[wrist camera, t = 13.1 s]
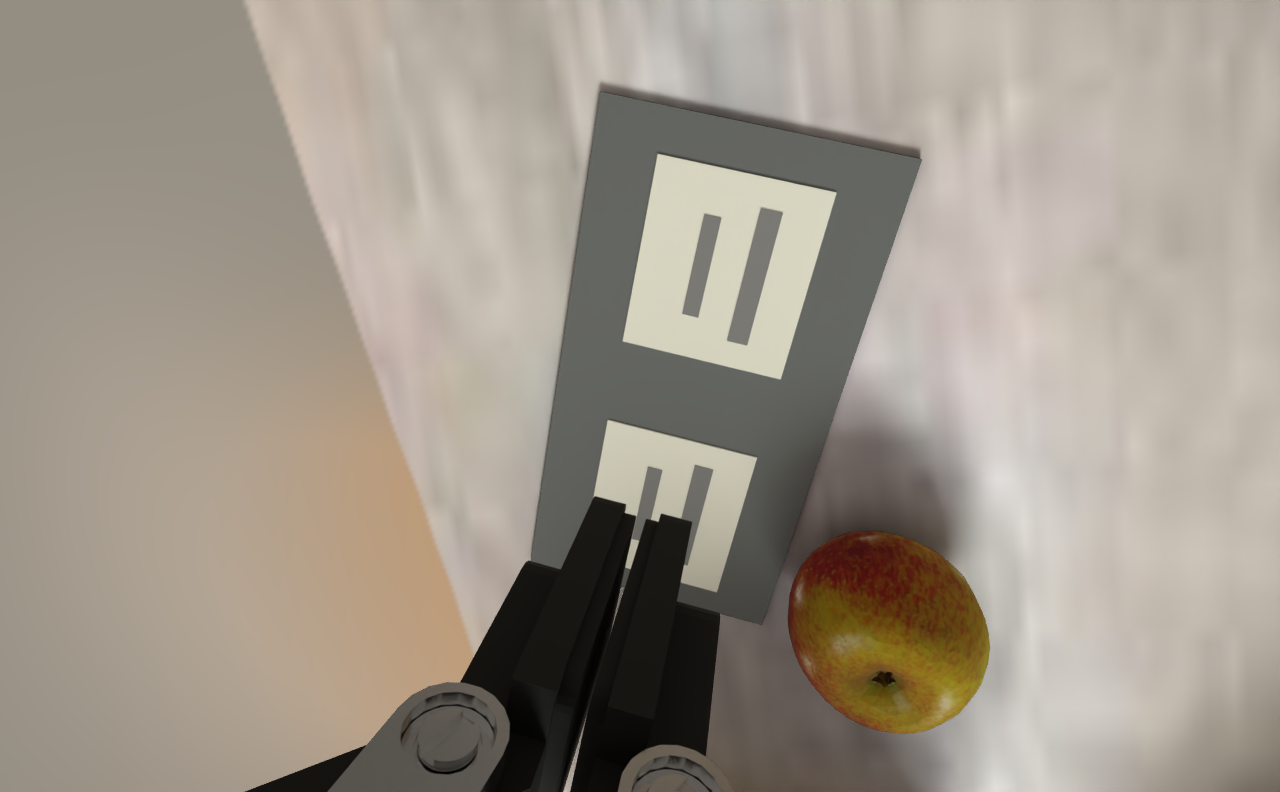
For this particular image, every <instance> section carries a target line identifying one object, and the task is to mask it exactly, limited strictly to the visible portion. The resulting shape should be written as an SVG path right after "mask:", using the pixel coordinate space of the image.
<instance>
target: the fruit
mask: <svg viewBox="0 0 1280 792" xmlns="http://www.w3.org/2000/svg"><path fill="white" fill-rule="evenodd" d="M788 626H789V633H790V638H791V642H792V645H793V649H794V652H795V655H796V657H797V660H798V662H799V664H800V666H801V668H802V670H803V672H804V673H805V675H806V676H807V678H808V679H809V681H810V682H811V684H812V685H813V686H814V687H815V689H816V690H817V691H818V692H819V693H820V694H821V695H822V697H823V698H824V699H825V700H826V701H827V702H828V703H829V704H831V705H832V706H833V707H834V708H835V709H836V710H838V711H839V712H840V713H842V714H843V715H845V716H846V717H848V718H849V719H851V720H853V721H855V722H857V723H859V724H861V725H863V726H866V727H869V728H872V729H875V730H879V731H885V732H891V733H916V732H921V731H926V730H929V729H931V728H933V727H936V726H938V725H940V724H942V723H944V722H946V721H947V720H949V719H951V718H952V717H954V716H956V715H957V714H959V713H960V711H961V710H962V709H963V708H964V707H965V706H966V705H967V704H968V702H969V701H970V700H971V698H972V697H973V696H974V695H975V693H976V692H977V690H978V688H979V687H980V685H981V683H982V680H983V677H984V674H985V671H986V668H987V665H988V660H989V650H990V643H989V634H988V629H987V625H986V620H985V618H984V615H983V613H982V610H981V608H980V606H979V604H978V602H977V600H976V598H975V596H974V594H973V592H972V590H971V588H970V586H969V584H968V583H967V581H966V579H965V578H964V576H963V575H962V574H961V573H960V572H959V571H958V570H957V569H956V568H955V567H954V566H953V565H952V564H950V563H949V562H948V561H947V560H946V559H945V558H943V557H942V556H941V555H939V554H938V553H936V552H935V551H933V550H932V549H930V548H928V547H926V546H924V545H922V544H920V543H918V542H916V541H913V540H911V539H909V538H906V537H902V536H898V535H895V534H890V533H884V532H875V531H861V532H851V533H846V534H843V535H841V536H838V537H836V538H834V539H831V540H829V541H827V542H825V543H824V544H822V545H821V546H820V547H818V548H817V549H816V550H815V551H813V552H812V553H811V554H810V556H809V557H808V558H807V559H806V561H805V562H804V563H803V565H802V566H801V567H800V569H799V571H798V573H797V575H796V577H795V579H794V582H793V585H792V589H791V592H790V598H789V611H788Z"/></svg>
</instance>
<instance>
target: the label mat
mask: <svg viewBox="0 0 1280 792" xmlns="http://www.w3.org/2000/svg"><path fill="white" fill-rule="evenodd" d="M921 161H922V159H919V158H914V157H909V156H905V155H900V154H895V153H890V152H886V151H881V150H876V149H871V148H867V147H862V146H857V145H852V144H848V143H843V142H838V141H833V140H829V139H824V138H819V137H814V136H810V135H805V134H800V133H795V132H790V131H786V130H781V129H776V128H771V127H767V126H762V125H757V124H752V123H748V122H743V121H738V120H733V119H729V118H724V117H719V116H714V115H710V114H705V113H700V112H695V111H691V110H686V109H681V108H676V107H672V106H667V105H662V104H657V103H653V102H648V101H643V100H638V99H634V98H629V97H624V96H619V95H615V94H610V93H605V92H600V97H599V104H598V111H597V118H596V124H595V131H594V138H593V145H592V151H591V158H590V165H589V172H588V178H587V185H586V192H585V198H584V205H583V212H582V219H581V225H580V232H579V239H578V246H577V252H576V259H575V266H574V273H573V279H572V286H571V293H570V299H569V306H568V313H567V320H566V326H565V333H564V340H563V347H562V353H561V360H560V367H559V374H558V380H557V387H556V394H555V400H554V407H553V414H552V421H551V427H550V434H549V441H548V448H547V454H546V461H545V468H544V475H543V481H542V488H541V495H540V501H539V508H538V515H537V522H536V528H535V535H534V542H533V549H532V555H531V561H532V562H536V563H539V564H543V565H547V566H550V567H554V568H557V569H561V568H562V566H563V563H564V561H565V559H566V557H567V555H568V552H569V550H570V548H571V546H572V544H573V541H574V539H575V537H576V535H577V533H578V531H579V528H580V526H581V524H582V522H583V520H584V517H585V515H586V513H587V511H588V509H589V506H590V504H591V502H592V500H593V498H594V497H595V496H597V497H601V498H605V499H608V500H612V501H616V502H620V503H624V504H626V510H625V513H627V514H631V515H635V516H636V521H635V526H634V530H633V535H632V539H631V544H630V548H629V552H628V557H627V561H626V566H625V570H624V575H623V579H622V584H621V587H625V586H626V582H627V579H628V576H629V573H630V569H631V566H632V563H633V560H634V556H635V553H636V550H637V547H638V543H639V540H640V537H641V534H642V530H643V527H644V524H645V521H646V519H650V520H654V521H657V522H659V518H660V515H661V513H662V514H665V515H669V516H673V517H677V518H681V519H684V520H688V521H692V527H691V532H690V537H689V542H688V547H687V552H686V557H685V563H684V568H683V573H682V578H681V583H680V588H679V593H678V598H677V601H678V602H681V603H685V604H689V605H692V606H696V607H700V608H703V609H707V610H711V611H714V612H718V613H720V614H723V615H727V616H731V617H734V618H738V619H742V620H745V621H749V622H752V623H756V624H760V625H762V623H763V620H764V617H765V614H766V611H767V608H768V605H769V603H770V600H771V597H772V594H773V591H774V588H775V585H776V582H777V579H778V576H779V573H780V571H781V568H782V565H783V562H784V559H785V556H786V553H787V550H788V547H789V544H790V542H791V539H792V536H793V533H794V530H795V527H796V524H797V521H798V518H799V515H800V513H801V510H802V507H803V504H804V501H805V498H806V495H807V492H808V489H809V486H810V483H811V481H812V478H813V475H814V472H815V469H816V466H817V463H818V460H819V457H820V454H821V452H822V449H823V446H824V443H825V440H826V437H827V434H828V431H829V428H830V425H831V422H832V420H833V417H834V414H835V411H836V408H837V405H838V402H839V399H840V396H841V393H842V391H843V388H844V385H845V382H846V379H847V376H848V373H849V370H850V367H851V364H852V362H853V359H854V356H855V353H856V350H857V347H858V344H859V341H860V338H861V335H862V332H863V330H864V327H865V324H866V321H867V318H868V315H869V312H870V309H871V306H872V303H873V301H874V298H875V295H876V292H877V289H878V286H879V283H880V280H881V277H882V274H883V271H884V269H885V266H886V263H887V260H888V257H889V254H890V251H891V248H892V245H893V242H894V240H895V237H896V234H897V231H898V228H899V225H900V222H901V219H902V216H903V213H904V211H905V208H906V205H907V202H908V199H909V196H910V193H911V190H912V187H913V184H914V181H915V179H916V176H917V173H918V170H919V167H920V164H921Z"/></svg>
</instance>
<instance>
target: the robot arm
mask: <svg viewBox="0 0 1280 792" xmlns="http://www.w3.org/2000/svg"><path fill="white" fill-rule="evenodd" d="M625 510H626V504H624V503H620V502H616V501H612V500H608V499H605V498H601V497H597V496H595V497H594V498H593V500H592V502H591V504H590V506H589V509H588V511H587V513H586V515H585V517H584V520H583V522H582V524H581V526H580V528H579V531H578V533H577V535H576V537H575V539H574V541H573V544H572V546H571V548H570V550H569V552H568V555H567V557H566V559H565V561H564V563H563V566H562V568H561V569H557V568H554V567H550V566H547V565H543V564H539V563H536V562H532V561H527V562H526V563H525V564H524V566H523V567H522V569H521V571H520V573H519V575H518V576H517V578H516V580H515V582H514V584H513V586H512V588H511V589H510V591H509V593H508V595H507V597H506V599H505V600H504V602H503V604H502V606H501V608H500V610H499V612H498V613H497V615H496V617H495V619H494V621H493V623H492V625H491V626H490V628H489V630H488V632H487V634H486V636H485V637H484V639H483V641H482V643H481V645H480V647H479V649H478V650H477V652H476V654H475V656H474V658H473V660H472V662H471V663H470V665H469V667H468V669H467V671H466V673H465V674H464V676H463V678H462V680H461V682H460V683H451V682H450V683H449V682H447V683H442V684H438V685H433V686H429V687H427V688H425V689H423V690H421V691H419V692H417V693H415V694H413V695H412V696H411V697H409V698H408V699H407V700H406V701H405V702H404V703H403V704H402V705H400V706H399V707H398V708H397V710H396V711H395V712H394V713H393V715H392V716H391V717H390V718H389V719H388V720H387V722H386V723H385V724H384V725H383V726H382V728H381V729H380V730H379V731H378V732H377V733H376V735H375V736H374V737H373V738H372V739H371V741H370V742H369V743H368V744H367V745H365V746H363V747H360V748H358V749H355V750H352V751H350V752H347V753H344V754H342V755H339V756H337V757H334V758H332V759H329V760H326V761H324V762H321V763H318V764H316V765H314V766H311V767H308V768H305V769H303V770H300V771H298V772H295V773H293V774H290V775H287V776H285V777H282V778H279V779H277V780H274V781H271V782H269V783H266V784H264V785H261V786H259V787H256V788H253V789H251V790H248V791H245V792H563V790H564V787H565V784H566V781H567V777H568V774H569V771H570V768H571V764H572V761H573V758H574V755H575V751H576V748H577V745H578V741H579V738H580V735H581V732H582V728H583V725H584V722H585V719H586V722H585V726H584V731H583V736H582V740H581V745H580V749H579V754H578V759H577V763H576V768H575V772H574V777H573V782H572V786H571V791H570V792H735V791H734V789H733V787H732V786H731V784H730V782H729V780H728V779H727V777H726V775H725V774H724V773H723V772H722V771H721V770H720V769H719V768H718V766H717V765H716V764H715V763H714V762H713V761H712V760H710V759H709V758H707V757H706V748H707V739H708V730H709V720H710V711H711V701H712V692H713V682H714V673H715V663H716V654H717V644H718V635H719V625H720V613H718V612H714V611H711V610H707V609H703V608H700V607H696V606H692V605H689V604H685V603H681V602H678V601H677V598H678V593H679V588H680V583H681V578H682V573H683V568H684V563H685V557H686V552H687V547H688V542H689V537H690V532H691V527H692V521H688V520H684V519H681V518H677V517H673V516H669V515H665V514H662V513H661V515H660V518H659V522H657V521H654V520H650V519H646V521H645V524H644V527H643V530H642V534H641V537H640V540H639V543H638V547H637V550H636V553H635V556H634V560H633V563H632V566H631V569H630V573H629V576H628V579H627V582H626V586H625V589H624V592H623V595H622V599H621V602H620V605H619V608H618V612H617V615H616V618H615V621H614V625H613V628H612V624H613V620H614V615H615V611H616V606H617V602H618V597H619V593H620V588H621V584H622V579H623V575H624V570H625V566H626V561H627V557H628V552H629V548H630V544H631V539H632V535H633V530H634V526H635V521H636V516H635V515H631V514H627V513H625ZM611 629H612V631H611ZM610 633H611V634H610ZM587 712H588V713H587ZM586 715H587V717H586Z"/></svg>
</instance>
